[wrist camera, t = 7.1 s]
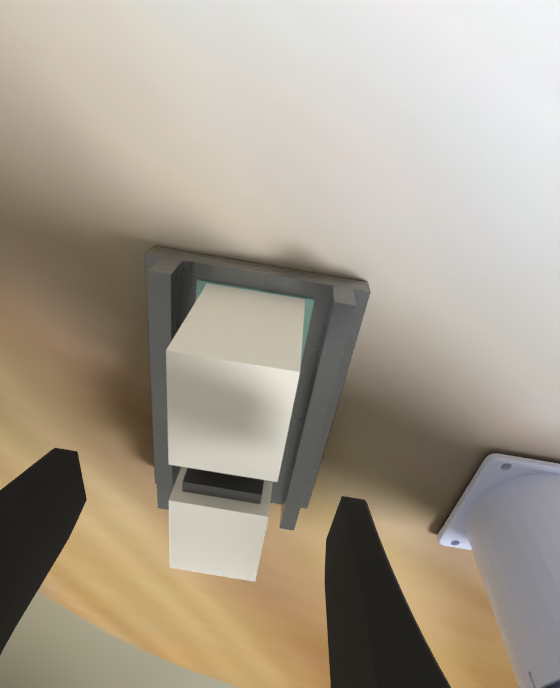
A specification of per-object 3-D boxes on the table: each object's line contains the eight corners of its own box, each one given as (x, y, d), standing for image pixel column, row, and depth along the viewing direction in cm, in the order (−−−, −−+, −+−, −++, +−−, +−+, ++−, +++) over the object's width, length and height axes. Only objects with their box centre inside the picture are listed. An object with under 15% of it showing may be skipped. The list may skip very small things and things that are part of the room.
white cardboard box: (305, 299, 16) (300, 372, 12) (285, 404, 19) (275, 492, 15) (206, 283, 16) (165, 350, 12) (202, 390, 19) (168, 475, 15)
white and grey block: (197, 479, 22) (169, 567, 18) (201, 405, 19) (168, 490, 15) (267, 490, 22) (254, 581, 18) (281, 418, 19) (270, 507, 15)
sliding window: (367, 281, 16) (375, 308, 14) (307, 493, 24) (306, 532, 22) (154, 245, 16) (129, 267, 14) (160, 469, 24) (145, 505, 22)
